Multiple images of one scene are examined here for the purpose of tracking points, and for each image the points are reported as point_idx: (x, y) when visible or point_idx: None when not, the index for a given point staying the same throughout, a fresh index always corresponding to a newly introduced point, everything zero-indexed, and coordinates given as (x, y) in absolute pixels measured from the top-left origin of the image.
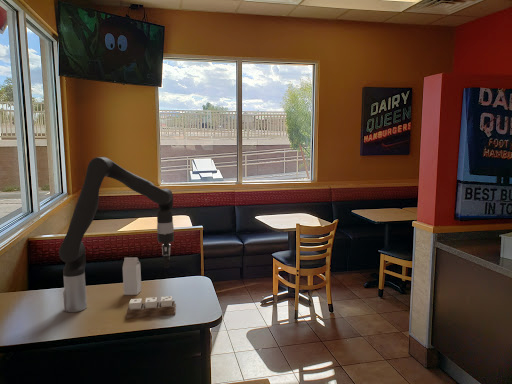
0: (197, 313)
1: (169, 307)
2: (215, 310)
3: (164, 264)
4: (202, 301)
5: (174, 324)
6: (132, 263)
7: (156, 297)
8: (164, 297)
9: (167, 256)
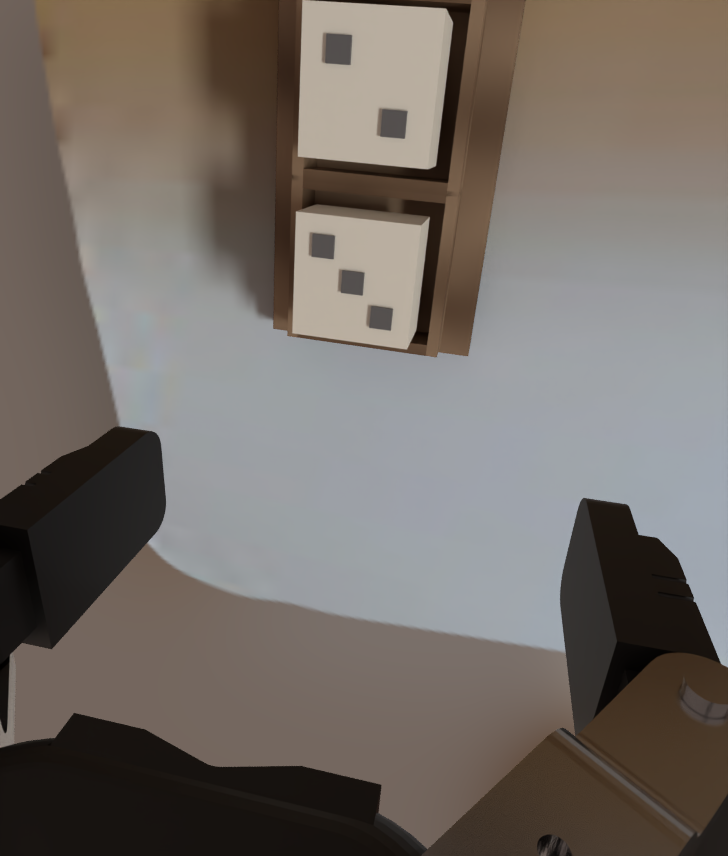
0: (268, 482)
1: (290, 289)
2: (291, 596)
3: (74, 466)
4: (487, 562)
5: (108, 296)
6: None
7: (421, 161)
8: (391, 261)
9: (583, 676)
